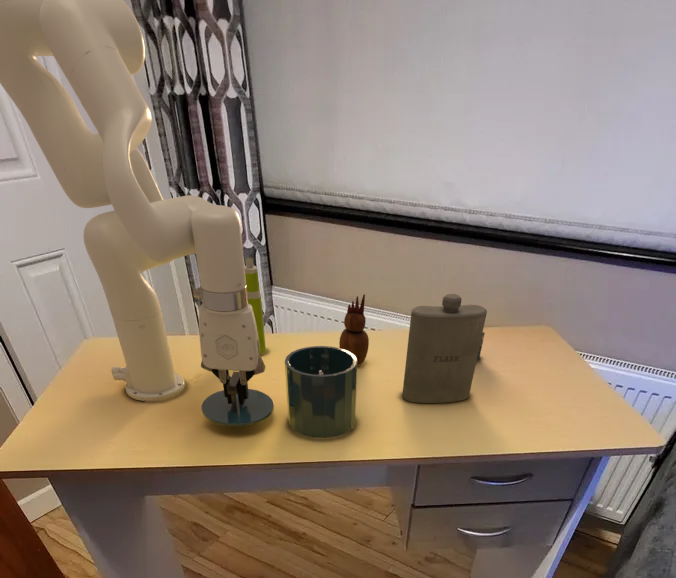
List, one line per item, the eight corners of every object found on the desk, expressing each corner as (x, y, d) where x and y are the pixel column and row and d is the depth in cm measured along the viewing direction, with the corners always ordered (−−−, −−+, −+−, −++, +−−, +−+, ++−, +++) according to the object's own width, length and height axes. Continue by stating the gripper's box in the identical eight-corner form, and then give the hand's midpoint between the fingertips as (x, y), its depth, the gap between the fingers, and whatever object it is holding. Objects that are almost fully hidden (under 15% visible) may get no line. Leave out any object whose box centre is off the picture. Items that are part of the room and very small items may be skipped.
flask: (405, 404, 109) (417, 302, 94) (400, 392, 113) (410, 291, 98) (472, 402, 110) (495, 300, 95) (465, 389, 114) (485, 290, 99)
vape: (265, 355, 125) (257, 260, 111) (241, 354, 125) (229, 260, 111) (267, 349, 128) (259, 256, 113) (243, 348, 128) (232, 255, 113)
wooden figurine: (371, 362, 123) (375, 293, 112) (359, 370, 120) (362, 300, 109) (347, 355, 126) (349, 287, 115) (335, 363, 123) (336, 294, 111)
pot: (284, 438, 99) (280, 374, 90) (293, 405, 108) (290, 344, 99) (353, 441, 99) (355, 377, 89) (356, 408, 108) (358, 347, 98)
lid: (194, 426, 97) (187, 393, 92) (211, 391, 106) (206, 360, 101) (268, 431, 97) (265, 399, 92) (279, 395, 106) (277, 364, 101)
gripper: (172, 302, 84) (192, 408, 98) (267, 308, 84) (274, 413, 97) (185, 287, 89) (202, 389, 103) (274, 293, 89) (279, 394, 102)
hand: (237, 400), depth 100 cm, fingers closed on lid
